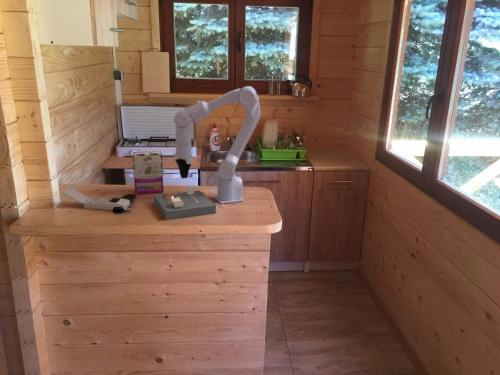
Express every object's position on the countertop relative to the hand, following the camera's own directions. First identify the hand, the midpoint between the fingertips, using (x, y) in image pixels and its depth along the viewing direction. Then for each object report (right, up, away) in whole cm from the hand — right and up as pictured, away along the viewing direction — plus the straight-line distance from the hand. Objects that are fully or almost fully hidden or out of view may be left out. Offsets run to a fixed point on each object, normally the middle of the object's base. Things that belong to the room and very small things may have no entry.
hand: (184, 177), depth 162 cm
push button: (-5, -10, -5) cm, 12 cm away
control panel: (+1, -11, -8) cm, 14 cm away
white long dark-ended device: (-29, -11, -9) cm, 33 cm away
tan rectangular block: (+3, -6, -3) cm, 7 cm away
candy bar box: (-15, -6, +8) cm, 18 cm away
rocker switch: (0, -9, -15) cm, 17 cm away
